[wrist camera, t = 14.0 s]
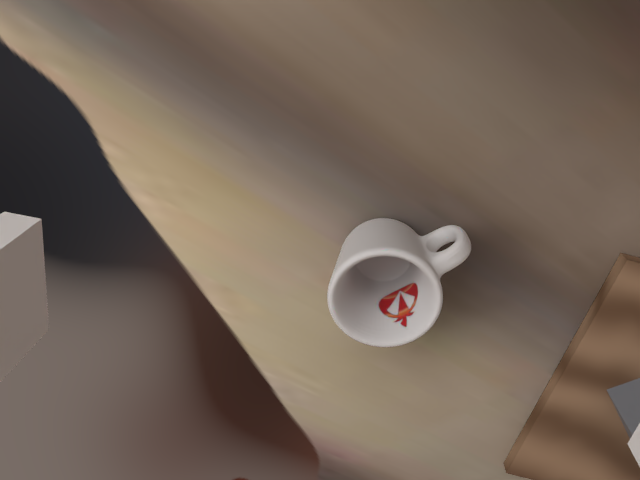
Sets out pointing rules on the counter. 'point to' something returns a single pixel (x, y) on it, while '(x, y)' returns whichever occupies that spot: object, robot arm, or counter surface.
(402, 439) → the counter surface
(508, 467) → the post board
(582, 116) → the counter surface
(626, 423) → the grey rectangular frame block
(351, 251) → the cup
